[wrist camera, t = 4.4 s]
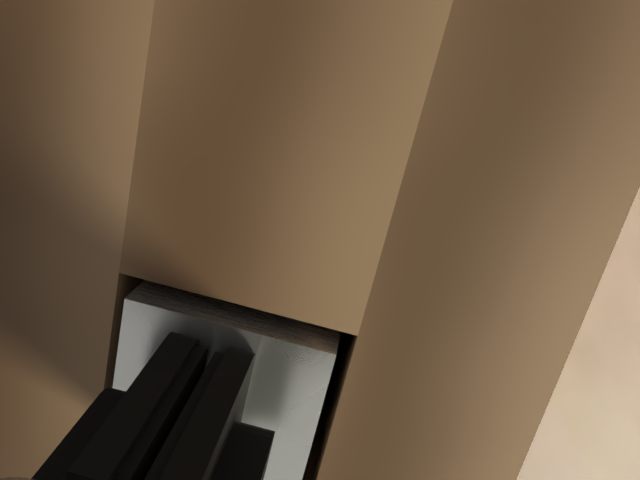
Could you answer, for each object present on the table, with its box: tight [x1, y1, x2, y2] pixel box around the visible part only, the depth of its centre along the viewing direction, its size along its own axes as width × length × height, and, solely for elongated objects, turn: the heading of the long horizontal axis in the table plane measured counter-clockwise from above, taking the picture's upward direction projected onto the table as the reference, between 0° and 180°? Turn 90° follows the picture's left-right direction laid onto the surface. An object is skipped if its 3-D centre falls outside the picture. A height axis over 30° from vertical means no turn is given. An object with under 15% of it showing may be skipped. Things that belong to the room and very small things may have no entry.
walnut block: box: [0, 0, 640, 480], centre depth 14 cm, size 12×26×9 cm, turn 168°
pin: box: [112, 280, 341, 480], centre depth 15 cm, size 4×4×8 cm
